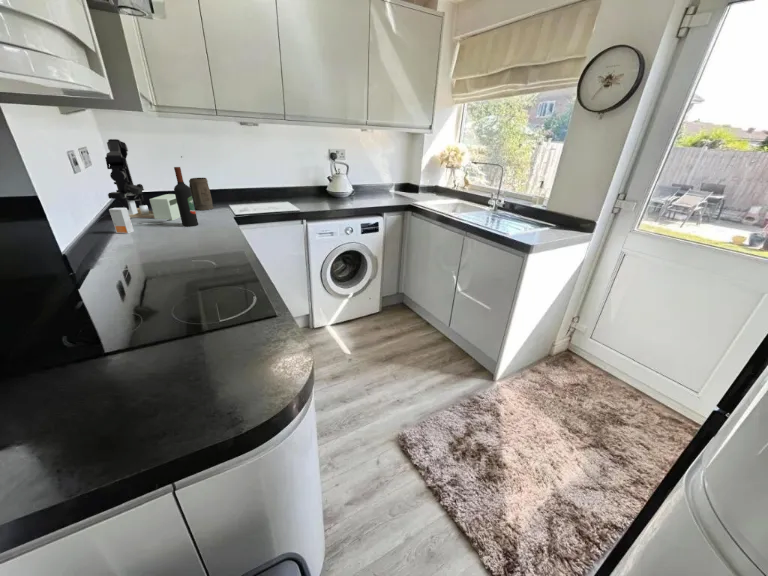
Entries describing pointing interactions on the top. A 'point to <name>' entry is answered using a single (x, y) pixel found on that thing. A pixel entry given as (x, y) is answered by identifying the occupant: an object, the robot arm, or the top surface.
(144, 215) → the tray
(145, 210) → the white rounded cylinder
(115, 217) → the skincare box
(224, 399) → the top surface
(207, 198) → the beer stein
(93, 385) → the top surface
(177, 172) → the wine bottle
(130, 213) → the white box
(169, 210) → the pale green box
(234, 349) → the top surface
